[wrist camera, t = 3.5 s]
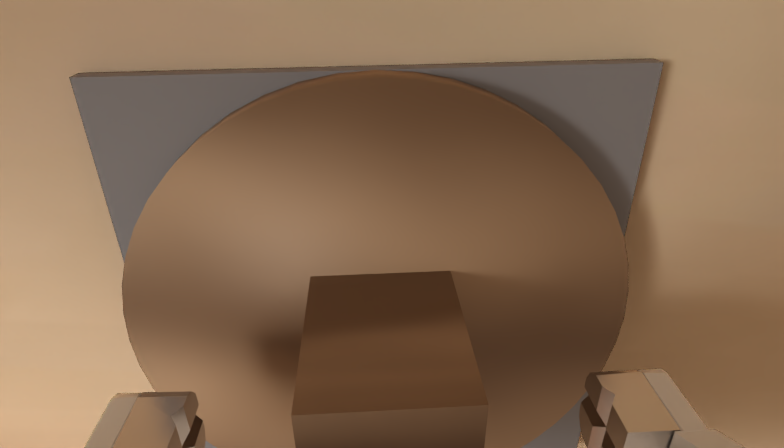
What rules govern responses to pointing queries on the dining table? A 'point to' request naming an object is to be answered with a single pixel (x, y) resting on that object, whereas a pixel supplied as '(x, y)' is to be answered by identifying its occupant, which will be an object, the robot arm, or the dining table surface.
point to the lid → (376, 269)
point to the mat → (241, 86)
